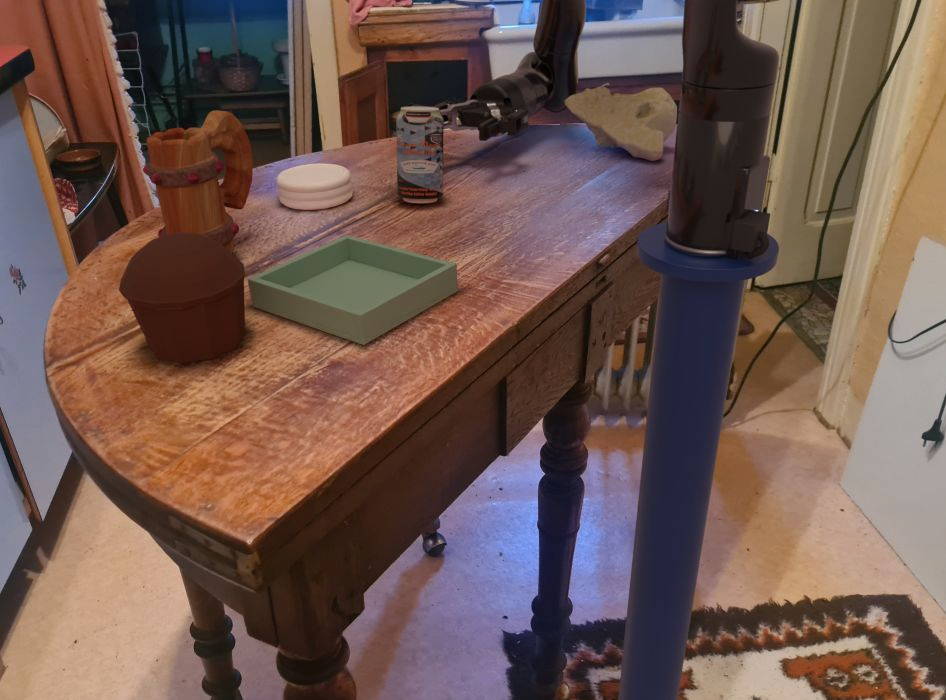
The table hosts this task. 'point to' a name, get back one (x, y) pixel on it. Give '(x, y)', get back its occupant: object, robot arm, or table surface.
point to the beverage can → (419, 154)
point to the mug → (201, 177)
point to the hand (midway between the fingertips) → (453, 130)
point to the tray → (354, 287)
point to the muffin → (186, 297)
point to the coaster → (314, 186)
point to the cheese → (627, 119)
